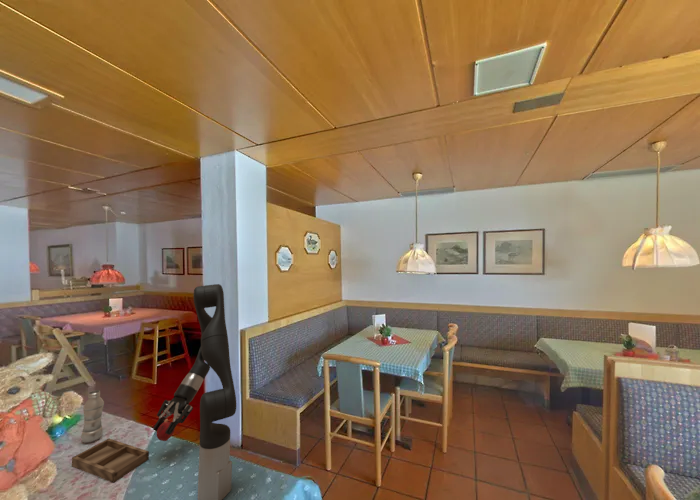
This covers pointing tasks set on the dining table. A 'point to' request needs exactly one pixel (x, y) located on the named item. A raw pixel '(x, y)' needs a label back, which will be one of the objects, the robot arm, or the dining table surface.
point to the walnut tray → (110, 459)
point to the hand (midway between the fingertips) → (161, 432)
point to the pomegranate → (162, 429)
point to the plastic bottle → (92, 417)
